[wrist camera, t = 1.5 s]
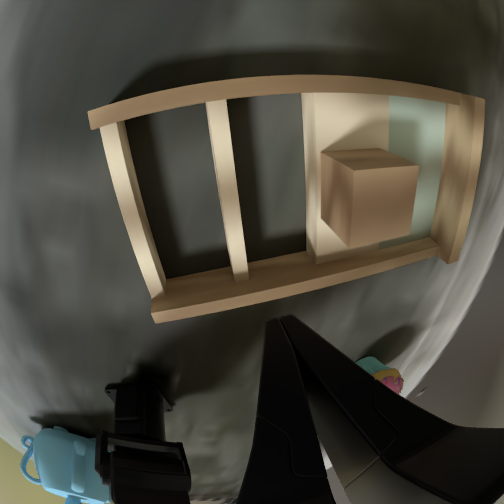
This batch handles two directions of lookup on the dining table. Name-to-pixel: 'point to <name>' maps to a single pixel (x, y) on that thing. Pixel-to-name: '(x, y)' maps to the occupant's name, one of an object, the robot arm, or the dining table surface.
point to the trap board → (310, 183)
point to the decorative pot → (65, 466)
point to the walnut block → (367, 195)
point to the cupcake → (382, 373)
